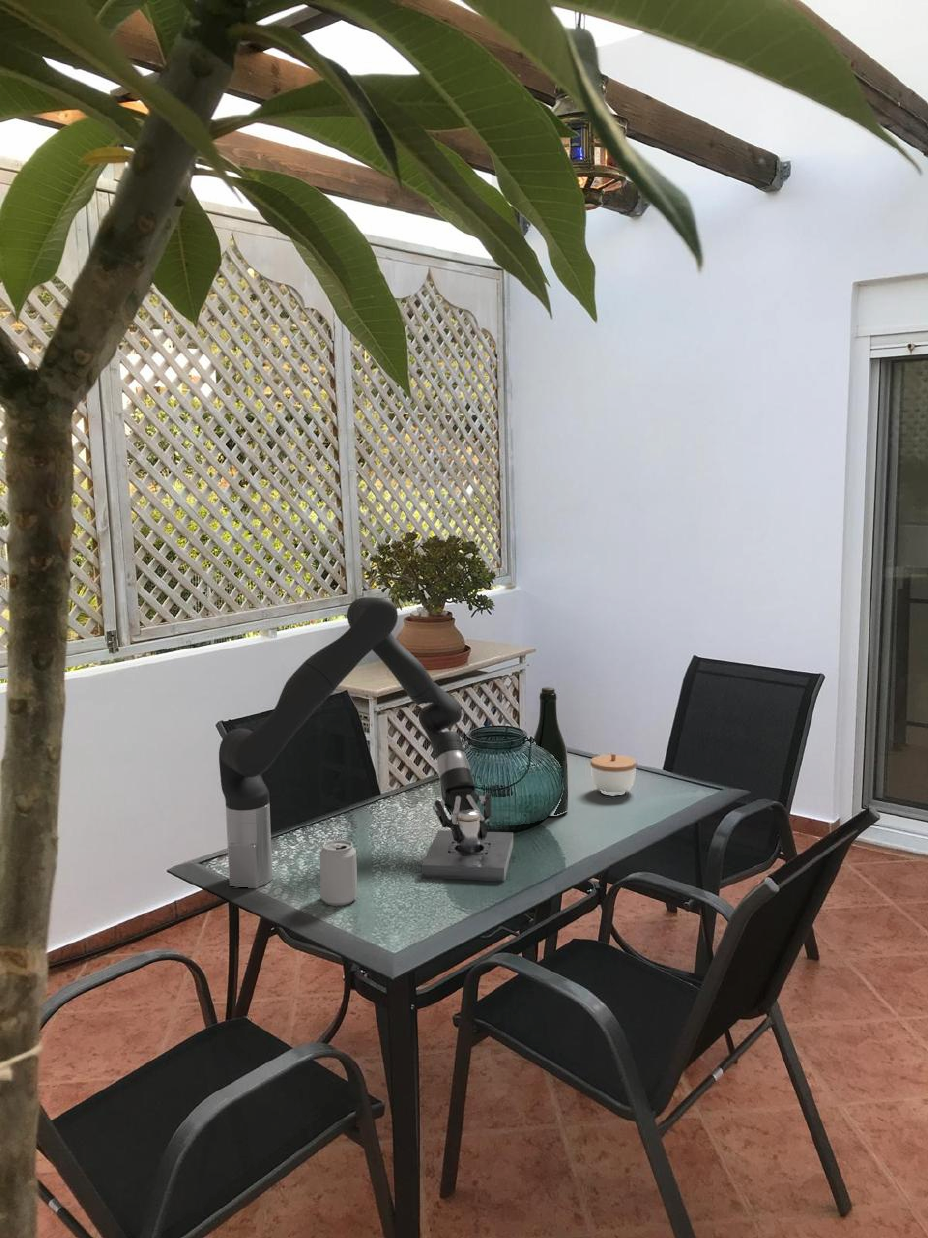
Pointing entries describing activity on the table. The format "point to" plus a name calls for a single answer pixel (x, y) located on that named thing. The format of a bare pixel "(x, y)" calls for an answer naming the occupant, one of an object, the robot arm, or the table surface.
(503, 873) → the plate
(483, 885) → the table surface
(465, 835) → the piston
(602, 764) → the lidded bowl
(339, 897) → the can
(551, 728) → the dark wine bottle
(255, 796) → the robot arm
